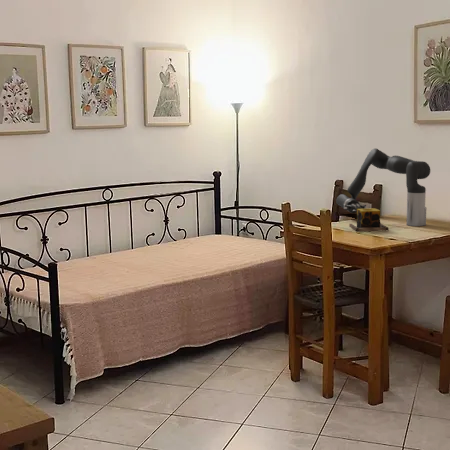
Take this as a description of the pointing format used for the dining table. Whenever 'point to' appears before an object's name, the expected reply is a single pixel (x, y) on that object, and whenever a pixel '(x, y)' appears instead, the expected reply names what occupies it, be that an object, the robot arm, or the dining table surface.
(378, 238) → the dining table surface
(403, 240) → the dining table surface
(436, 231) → the dining table surface
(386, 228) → the walnut frame
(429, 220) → the dining table surface
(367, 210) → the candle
